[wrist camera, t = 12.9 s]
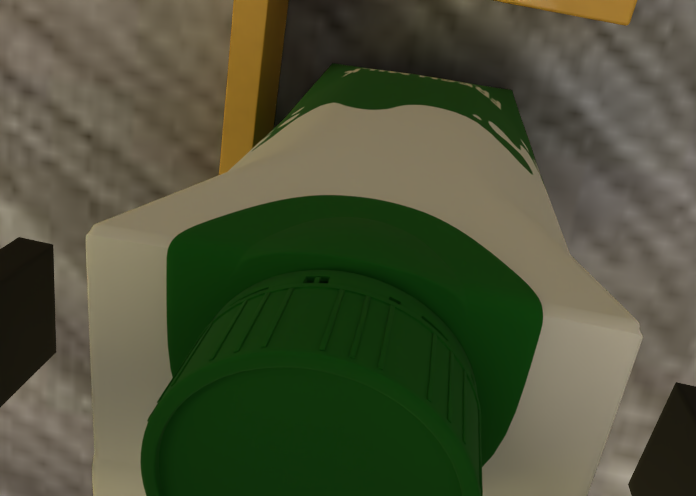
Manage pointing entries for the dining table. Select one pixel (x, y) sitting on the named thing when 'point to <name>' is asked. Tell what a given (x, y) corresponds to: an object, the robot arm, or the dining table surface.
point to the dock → (266, 55)
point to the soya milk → (356, 313)
